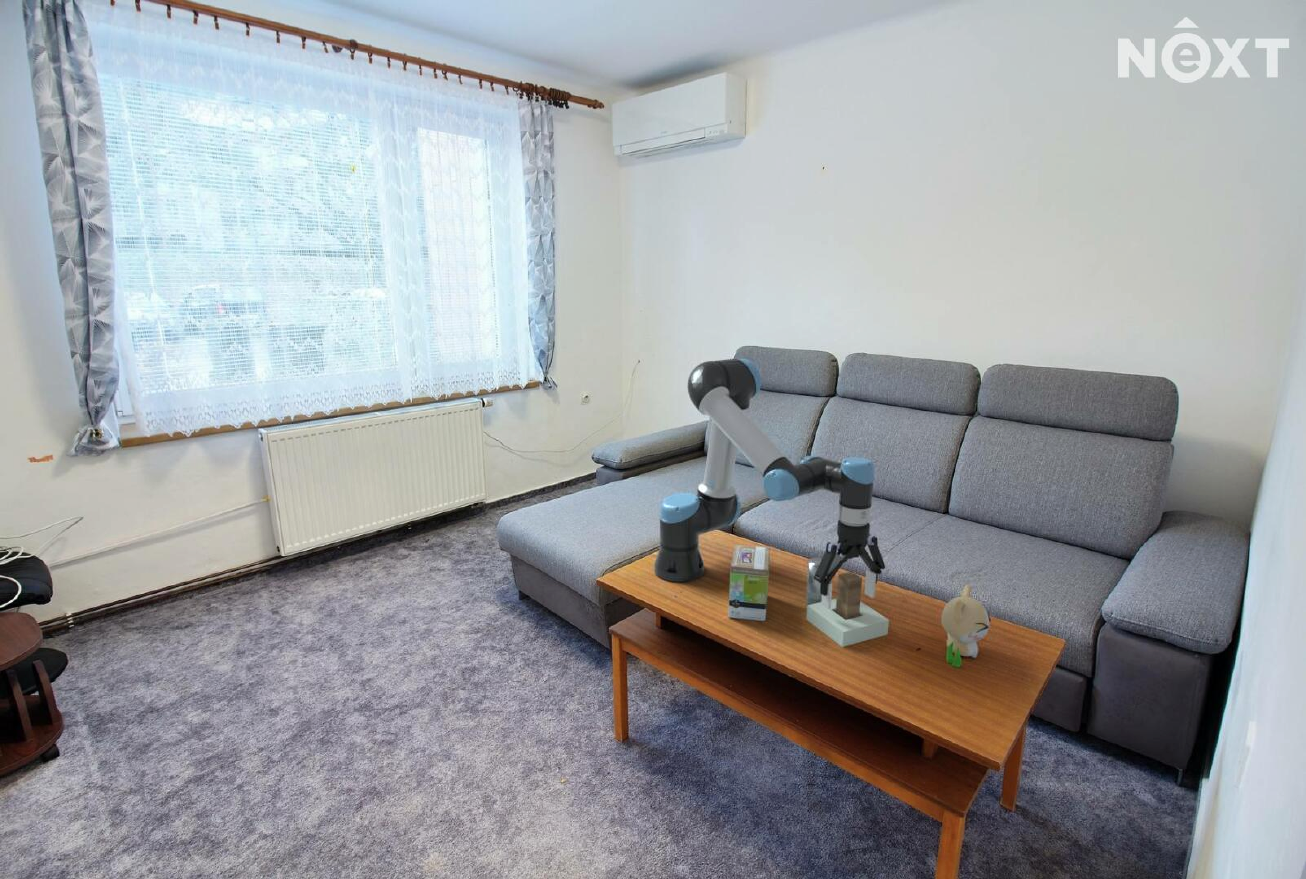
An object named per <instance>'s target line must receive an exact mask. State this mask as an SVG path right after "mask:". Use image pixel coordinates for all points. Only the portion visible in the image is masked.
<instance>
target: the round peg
mask: <svg viewBox="0 0 1306 879" xmlns="http://www.w3.org/2000/svg"><path fill="white" fill-rule="evenodd" d="M822 558H823V557H811V558H809V559H808V561H807V575H806V576H807V578H806V597H805V603H806V605H811V604H815V603H819V602H821V600H822V594H821V593H820V584H821V583H820V582H818V581H817V580H815V579H814V575H815V573H816V571H817V569H818V566H819V564H820V562H821V560H822ZM826 578H827V577H826Z"/></svg>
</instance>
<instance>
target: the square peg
mask: <svg viewBox="0 0 1306 879" xmlns="http://www.w3.org/2000/svg"><path fill="white" fill-rule="evenodd" d="M837 577H838V578H837V588H836V589H837V590H836V598H837V601H836V614H838V615H839V616H841V617H842V618H843V619H845V620H848V619H852V618H855V617H859V611H860V601H861V597H862V584H863V577H861V576H860V575H858V574H856V573H854V572H852V571H849V572H843V573H838V576H837Z"/></svg>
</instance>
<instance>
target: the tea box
mask: <svg viewBox="0 0 1306 879" xmlns="http://www.w3.org/2000/svg"><path fill="white" fill-rule="evenodd" d="M770 551H771V550H770V547H768V546H767V547H766V546H752V545H744V544H743V545H742V544H741V545H740V544H734V547H733V552H732V558H731V564H730V573H729V574H730V575H729V576H730V577H729V598H728V618H731V619H739V620H749V621H758V622H759V621H761V622H765V621H766V617H767V605H768V593H769V581H770V580H769V579H770V578H769V576H770V556H771V555H770Z"/></svg>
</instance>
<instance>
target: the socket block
mask: <svg viewBox="0 0 1306 879" xmlns="http://www.w3.org/2000/svg"><path fill="white" fill-rule="evenodd" d="M836 601H837V597H836V598H831V608H830V609H828V608H826V607H825V606H823V605H822V604H821V602H819V603H815V604H811V605H808V604H806V617H805V618H806V620H807V621H808V622H809V623H810V624H811V625H813V626H815V627H816V628H817V629H818V630H819V631H821V633H823V634H824V635H826V636H828V638H829V639H831V640H832V641H833V642H835V643H836V644H838V645H839V646H840V647H841V648H844V647H847V646H851V645H855V644H858V643H861V642H862V643H863V642H865V641H870V640H873V639H876V638H880V637H884V636H888V635H889V622H890V619H889V618H887V617H886V616H883V614H880V613H879V612H877V611H876V610H874V609H873V608H871V607H870V606H868V605H866V604H865V603H864V602H862V601H861V600H860V611H859V617H855V618H852V619H848V620H845V619H843V618H842V617H841V616H839V615H838V614H836Z"/></svg>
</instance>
